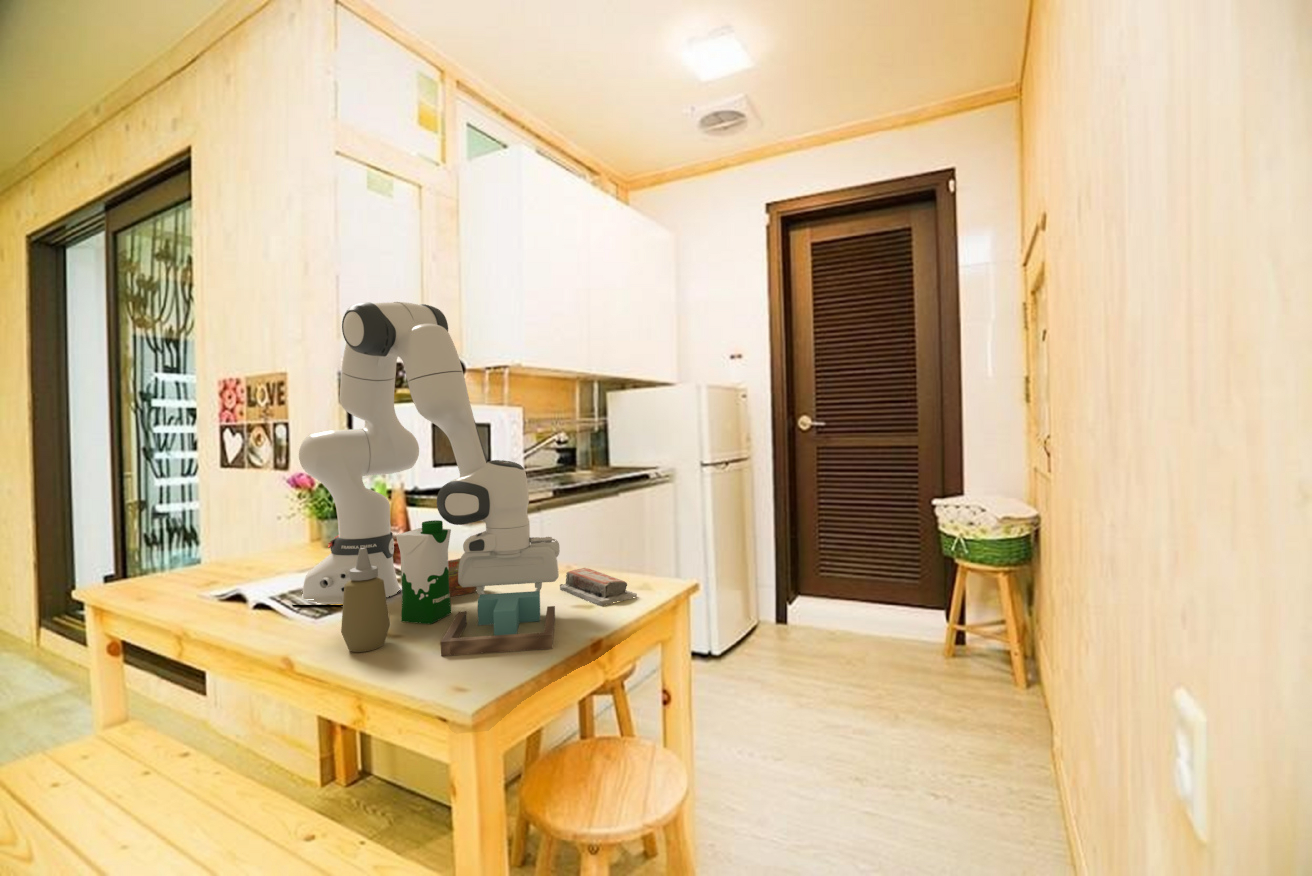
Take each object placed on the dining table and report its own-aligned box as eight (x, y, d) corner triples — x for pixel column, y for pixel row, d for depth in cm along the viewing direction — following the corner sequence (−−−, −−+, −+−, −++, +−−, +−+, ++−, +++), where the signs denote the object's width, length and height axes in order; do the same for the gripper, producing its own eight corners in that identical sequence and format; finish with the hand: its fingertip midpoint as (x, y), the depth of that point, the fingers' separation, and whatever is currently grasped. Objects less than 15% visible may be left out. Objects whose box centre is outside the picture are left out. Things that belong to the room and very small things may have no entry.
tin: (418, 602, 138) (417, 565, 138) (416, 598, 141) (415, 562, 141) (486, 591, 146) (484, 556, 145) (482, 588, 148) (481, 553, 148)
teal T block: (472, 639, 114) (471, 613, 114) (481, 618, 126) (480, 594, 126) (537, 635, 116) (537, 609, 115) (540, 614, 127) (539, 590, 127)
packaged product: (557, 571, 146) (592, 564, 152) (558, 591, 146) (593, 583, 152) (600, 586, 132) (637, 578, 138) (601, 608, 132) (637, 599, 138)
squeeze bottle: (372, 656, 107) (368, 554, 106) (331, 654, 108) (327, 553, 107) (399, 639, 115) (396, 544, 114) (361, 637, 116) (357, 543, 115)
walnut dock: (441, 656, 106) (440, 642, 106) (458, 624, 123) (458, 611, 123) (552, 648, 109) (551, 634, 109) (555, 618, 125) (554, 606, 125)
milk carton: (431, 626, 122) (428, 526, 121) (393, 622, 124) (389, 524, 123) (458, 612, 130) (454, 518, 129) (421, 609, 133) (418, 517, 132)
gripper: (559, 533, 131) (561, 597, 132) (460, 538, 128) (462, 603, 129) (558, 539, 125) (560, 606, 126) (455, 544, 122) (457, 613, 123)
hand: (510, 604), depth 127 cm, fingers open, 8 cm apart
